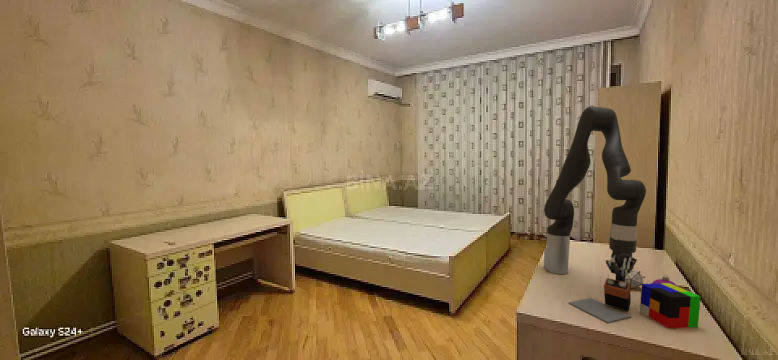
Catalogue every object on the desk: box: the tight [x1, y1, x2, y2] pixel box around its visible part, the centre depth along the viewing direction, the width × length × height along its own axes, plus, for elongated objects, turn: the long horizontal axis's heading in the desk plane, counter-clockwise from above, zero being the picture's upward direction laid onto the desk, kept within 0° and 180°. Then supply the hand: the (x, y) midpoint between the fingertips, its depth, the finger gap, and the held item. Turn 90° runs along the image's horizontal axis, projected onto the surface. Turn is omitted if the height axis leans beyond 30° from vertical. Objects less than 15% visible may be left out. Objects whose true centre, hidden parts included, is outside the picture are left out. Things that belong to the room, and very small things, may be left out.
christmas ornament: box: [651, 274, 679, 287], centre depth 114 cm, size 8×8×10 cm
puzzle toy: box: [639, 283, 702, 329], centre depth 101 cm, size 10×10×10 cm
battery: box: [603, 277, 632, 312], centre depth 108 cm, size 4×7×10 cm, turn 42°
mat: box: [568, 297, 632, 324], centre depth 107 cm, size 14×11×1 cm
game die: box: [625, 268, 646, 291], centre depth 126 cm, size 9×8×10 cm
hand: (619, 285), depth 110 cm, fingers closed
